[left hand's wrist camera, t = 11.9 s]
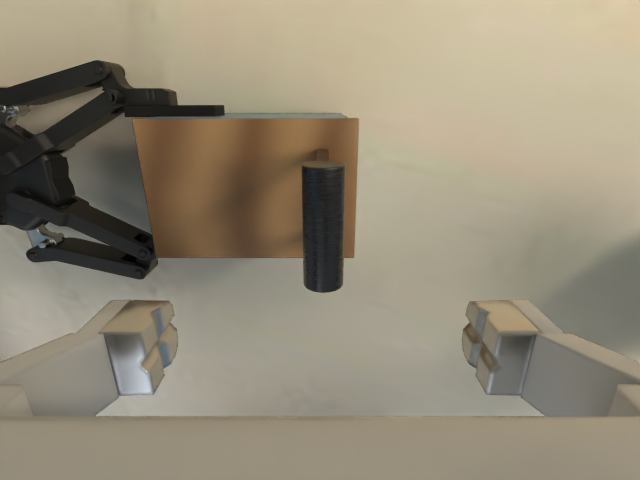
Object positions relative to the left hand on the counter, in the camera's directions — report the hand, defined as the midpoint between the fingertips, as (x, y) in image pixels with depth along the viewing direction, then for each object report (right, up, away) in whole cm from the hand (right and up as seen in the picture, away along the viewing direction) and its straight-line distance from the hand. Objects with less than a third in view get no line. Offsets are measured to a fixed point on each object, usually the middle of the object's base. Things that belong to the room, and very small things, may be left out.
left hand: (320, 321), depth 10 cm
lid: (-5, +6, +15) cm, 17 cm away
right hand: (-8, +7, +19) cm, 22 cm away
